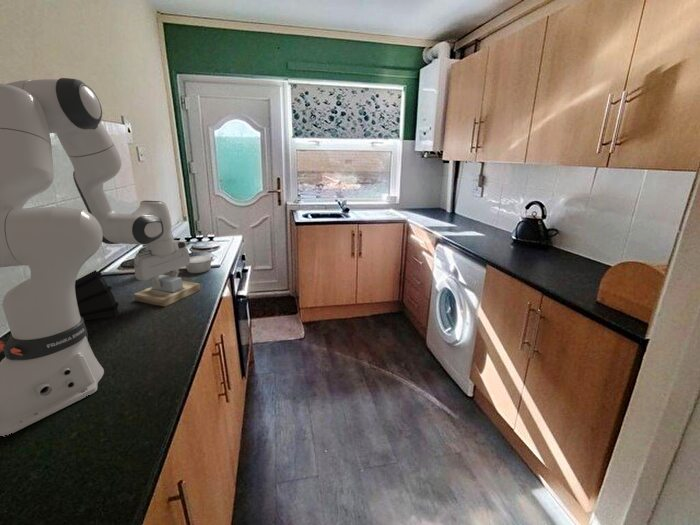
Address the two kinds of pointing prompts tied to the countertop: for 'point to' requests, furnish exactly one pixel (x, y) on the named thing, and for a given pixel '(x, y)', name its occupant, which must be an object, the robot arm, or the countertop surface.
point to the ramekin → (199, 264)
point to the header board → (166, 294)
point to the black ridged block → (95, 297)
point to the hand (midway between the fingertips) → (167, 284)
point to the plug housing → (169, 283)
